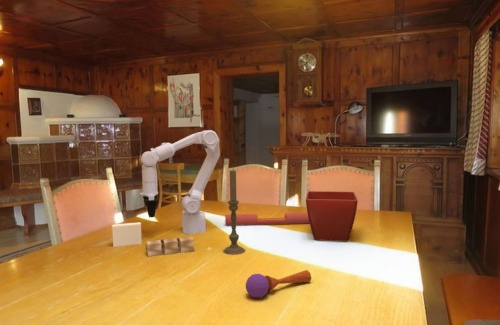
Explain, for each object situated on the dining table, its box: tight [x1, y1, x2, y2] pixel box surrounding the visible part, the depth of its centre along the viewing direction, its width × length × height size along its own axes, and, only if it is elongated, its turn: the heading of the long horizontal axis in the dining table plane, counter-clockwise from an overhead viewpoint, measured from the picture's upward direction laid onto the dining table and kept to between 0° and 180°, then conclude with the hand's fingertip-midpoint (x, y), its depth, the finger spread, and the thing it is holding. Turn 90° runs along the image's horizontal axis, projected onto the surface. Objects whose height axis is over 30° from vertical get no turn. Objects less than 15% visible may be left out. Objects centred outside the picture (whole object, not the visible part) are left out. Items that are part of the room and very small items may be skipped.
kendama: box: [245, 269, 312, 299], centre depth 98 cm, size 6×6×20 cm
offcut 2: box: [178, 236, 195, 253], centre depth 128 cm, size 4×4×4 cm
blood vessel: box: [224, 212, 310, 227], centre depth 166 cm, size 42×5×5 cm, turn 92°
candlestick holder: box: [222, 169, 246, 256], centre depth 125 cm, size 9×9×30 cm
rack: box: [145, 236, 195, 258], centre depth 131 cm, size 16×14×2 cm
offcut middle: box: [163, 237, 179, 255], centre depth 127 cm, size 4×4×4 cm
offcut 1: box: [146, 239, 163, 257], centre depth 125 cm, size 4×4×4 cm
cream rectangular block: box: [111, 222, 143, 248], centre depth 136 cm, size 10×3×8 cm, turn 108°
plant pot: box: [305, 190, 359, 242], centre depth 145 cm, size 19×19×17 cm
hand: (151, 214), depth 146 cm, fingers open, 7 cm apart
